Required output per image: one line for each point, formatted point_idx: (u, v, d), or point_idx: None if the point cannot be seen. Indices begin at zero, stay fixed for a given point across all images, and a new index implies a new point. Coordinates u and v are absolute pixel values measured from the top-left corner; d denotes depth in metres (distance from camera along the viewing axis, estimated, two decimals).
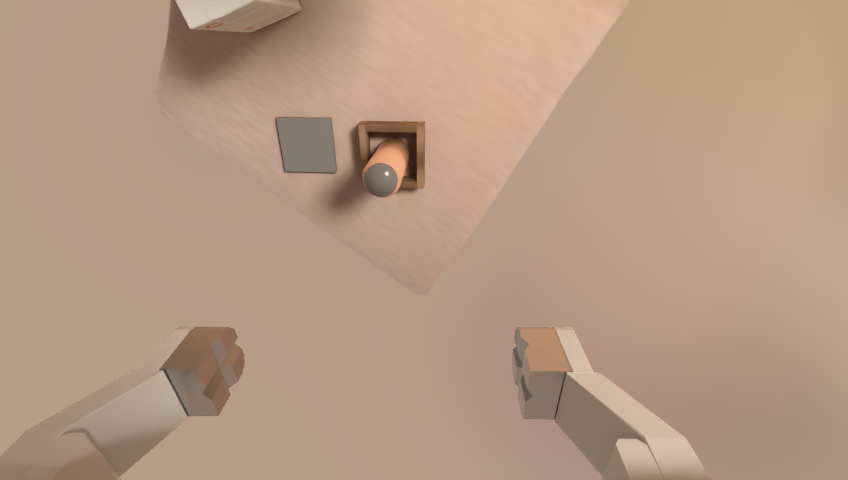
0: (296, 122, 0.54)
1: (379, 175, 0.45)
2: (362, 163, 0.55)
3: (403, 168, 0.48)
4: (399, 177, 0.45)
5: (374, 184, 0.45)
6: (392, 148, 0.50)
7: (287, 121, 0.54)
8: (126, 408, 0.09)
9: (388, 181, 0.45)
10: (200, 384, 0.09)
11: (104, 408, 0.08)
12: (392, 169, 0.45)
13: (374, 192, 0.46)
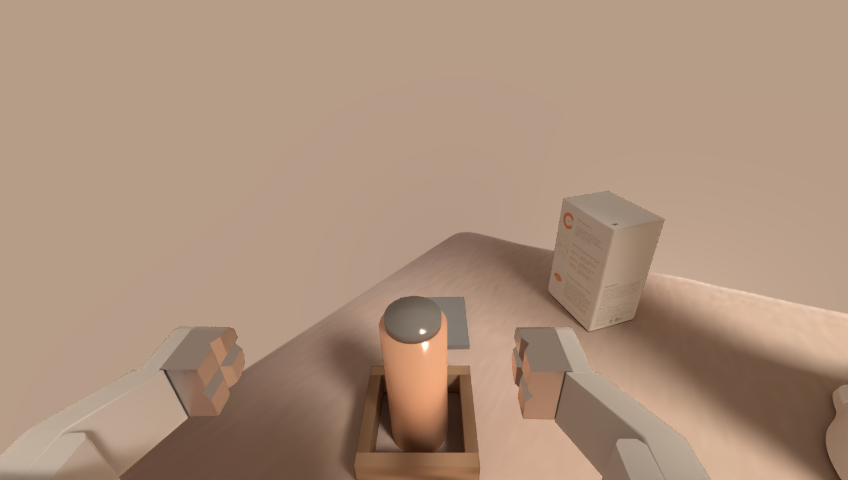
0: (460, 312, 0.44)
1: (422, 313, 0.26)
2: None
3: (419, 381, 0.26)
4: (415, 346, 0.24)
5: (407, 307, 0.27)
6: (446, 383, 0.29)
7: (461, 305, 0.45)
8: (126, 408, 0.09)
9: (411, 324, 0.25)
10: (200, 384, 0.09)
11: (105, 408, 0.08)
12: (432, 333, 0.25)
13: (392, 307, 0.27)
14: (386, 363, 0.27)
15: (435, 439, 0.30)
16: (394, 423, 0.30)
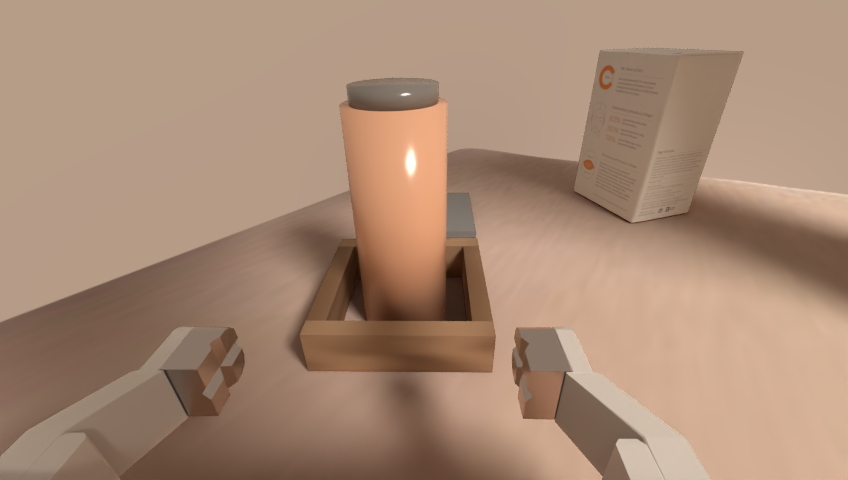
0: (464, 205, 0.34)
1: (408, 82, 0.16)
2: None
3: (401, 188, 0.16)
4: (394, 112, 0.15)
5: (385, 81, 0.17)
6: (445, 220, 0.19)
7: (465, 199, 0.35)
8: (126, 408, 0.09)
9: (389, 86, 0.16)
10: (200, 384, 0.09)
11: (105, 407, 0.08)
12: (422, 97, 0.15)
13: (362, 81, 0.17)
14: (350, 166, 0.17)
15: (427, 314, 0.20)
16: (366, 288, 0.20)
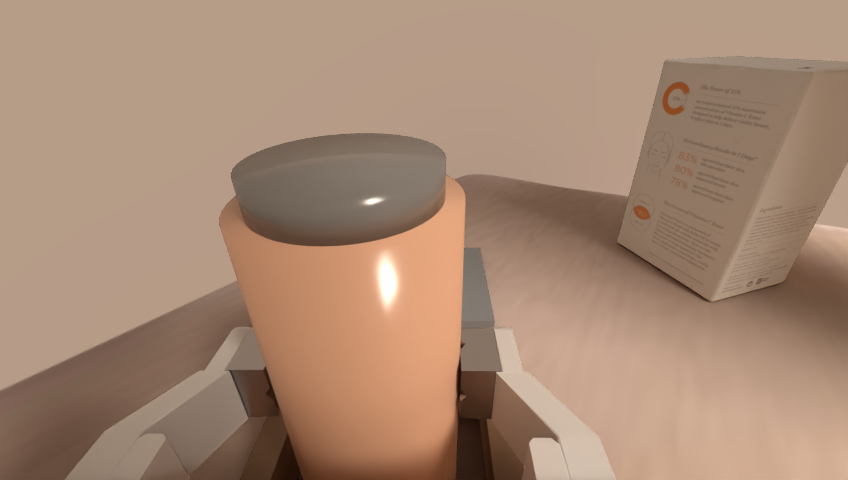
0: (475, 270, 0.25)
1: (379, 157, 0.07)
2: None
3: (363, 398, 0.07)
4: (334, 253, 0.06)
5: (331, 147, 0.08)
6: (457, 402, 0.10)
7: (476, 260, 0.26)
8: (196, 409, 0.08)
9: (329, 176, 0.06)
10: (264, 385, 0.09)
11: (178, 408, 0.08)
12: (408, 206, 0.06)
13: (283, 148, 0.08)
14: None
15: None
16: None
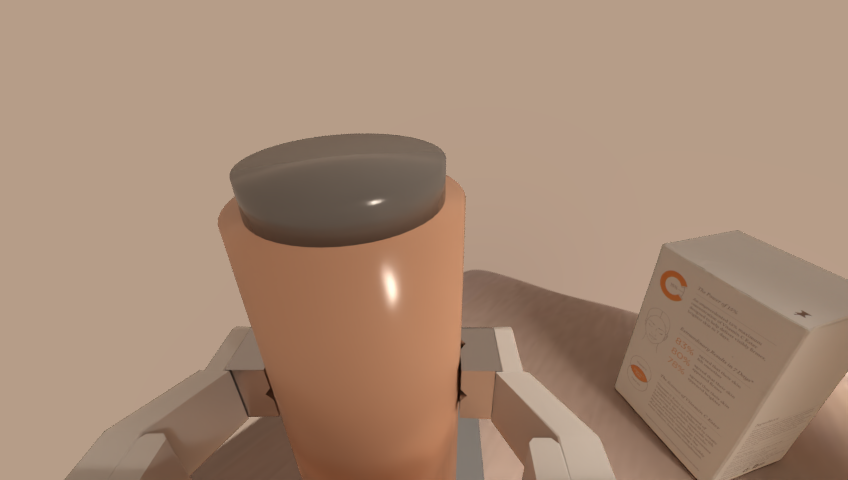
0: (470, 434, 0.25)
1: (378, 157, 0.07)
2: None
3: (363, 400, 0.07)
4: (333, 254, 0.06)
5: (330, 148, 0.08)
6: (457, 403, 0.10)
7: (472, 418, 0.26)
8: (196, 409, 0.08)
9: (328, 176, 0.06)
10: (264, 385, 0.09)
11: (178, 408, 0.08)
12: (408, 207, 0.06)
13: (282, 148, 0.08)
14: None
15: None
16: None
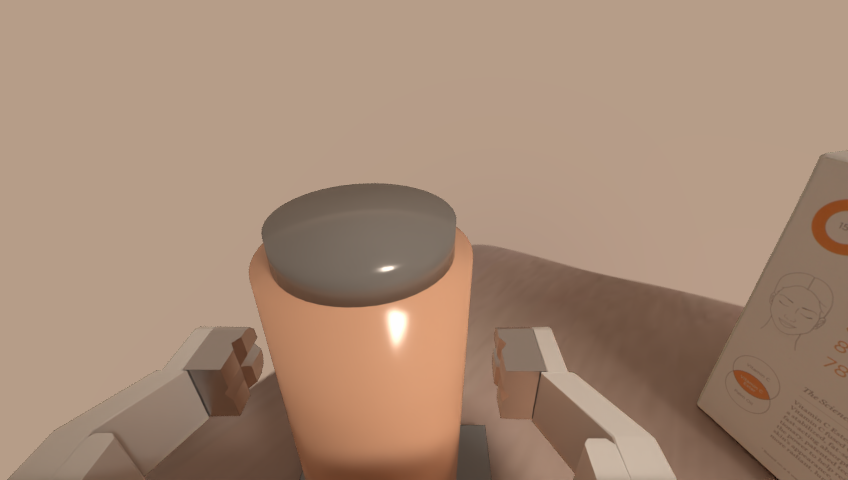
0: None
1: (395, 216, 0.08)
2: None
3: (376, 437, 0.08)
4: (357, 315, 0.06)
5: (350, 201, 0.09)
6: (458, 432, 0.10)
7: (479, 461, 0.16)
8: (151, 408, 0.09)
9: (352, 239, 0.07)
10: (223, 384, 0.09)
11: (130, 408, 0.08)
12: (423, 271, 0.07)
13: (304, 201, 0.09)
14: (276, 375, 0.08)
15: None
16: None
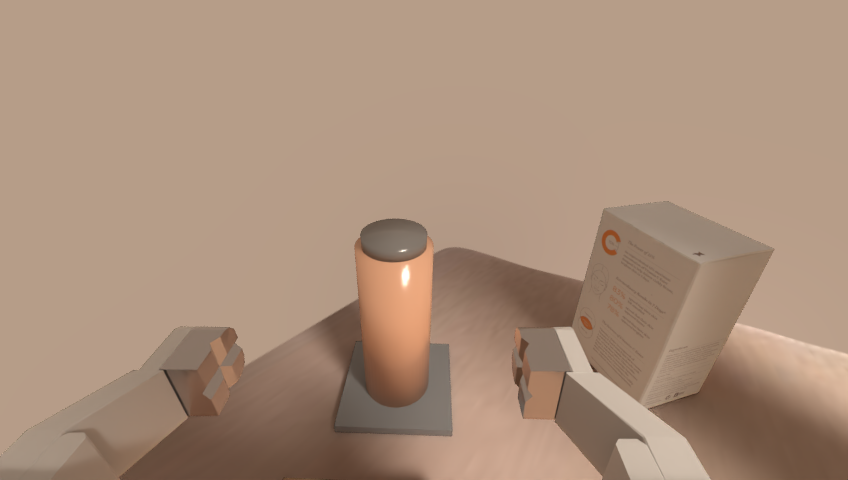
0: (442, 371, 0.30)
1: (405, 233, 0.23)
2: None
3: (398, 310, 0.22)
4: (394, 264, 0.21)
5: (388, 227, 0.23)
6: (429, 322, 0.25)
7: (444, 359, 0.31)
8: (126, 408, 0.09)
9: (392, 241, 0.22)
10: (200, 384, 0.09)
11: (105, 407, 0.08)
12: (415, 251, 0.21)
13: (371, 226, 0.23)
14: (361, 290, 0.23)
15: (414, 389, 0.26)
16: (368, 368, 0.26)
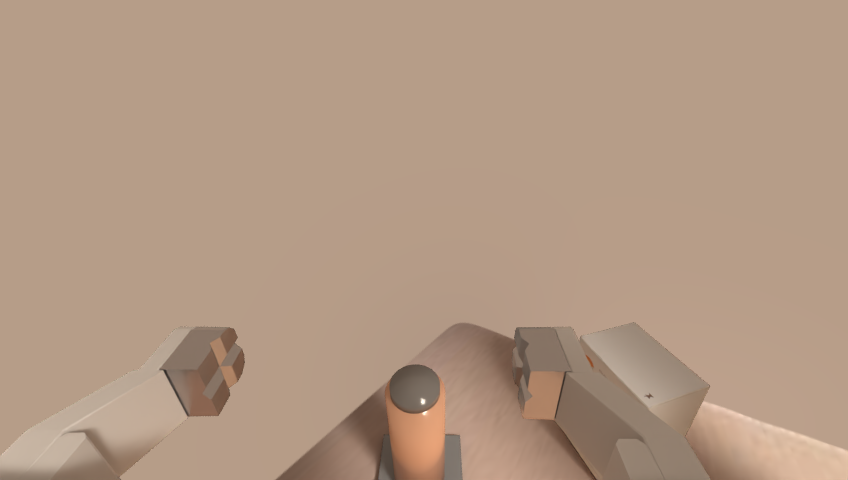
0: (455, 463, 0.37)
1: (423, 383, 0.30)
2: None
3: (420, 443, 0.29)
4: (416, 416, 0.28)
5: (410, 376, 0.30)
6: (444, 441, 0.32)
7: (456, 451, 0.38)
8: (126, 408, 0.09)
9: (413, 395, 0.29)
10: (200, 384, 0.09)
11: (105, 407, 0.08)
12: (431, 404, 0.28)
13: (397, 376, 0.30)
14: (391, 426, 0.30)
15: None
16: (397, 473, 0.33)
